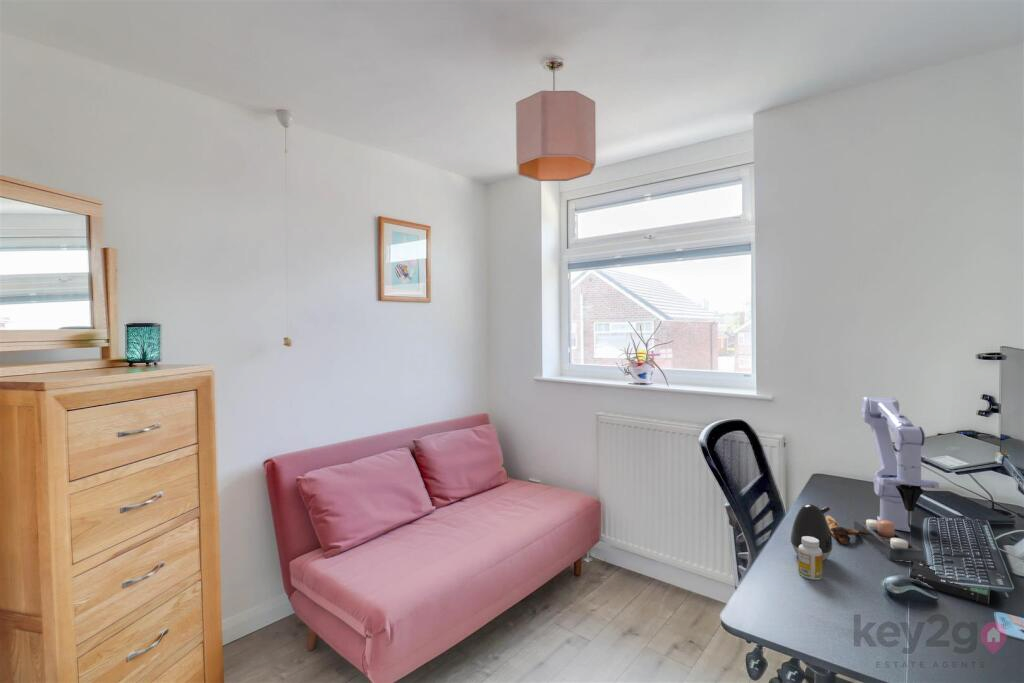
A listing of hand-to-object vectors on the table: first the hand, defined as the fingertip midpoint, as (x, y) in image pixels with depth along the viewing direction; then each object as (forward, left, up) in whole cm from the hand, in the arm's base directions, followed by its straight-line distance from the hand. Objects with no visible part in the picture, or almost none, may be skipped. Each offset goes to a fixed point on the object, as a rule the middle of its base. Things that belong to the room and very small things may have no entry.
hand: (909, 510), depth 149 cm
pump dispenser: (+28, -25, -10) cm, 39 cm away
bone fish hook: (+5, -17, -10) cm, 20 cm away
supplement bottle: (+40, -25, -10) cm, 48 cm away
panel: (+8, -6, -9) cm, 14 cm away
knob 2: (+14, -4, -9) cm, 17 cm away
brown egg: (+8, -6, -6) cm, 12 cm away
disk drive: (+27, +5, -10) cm, 30 cm away
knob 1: (+1, -9, -9) cm, 13 cm away
